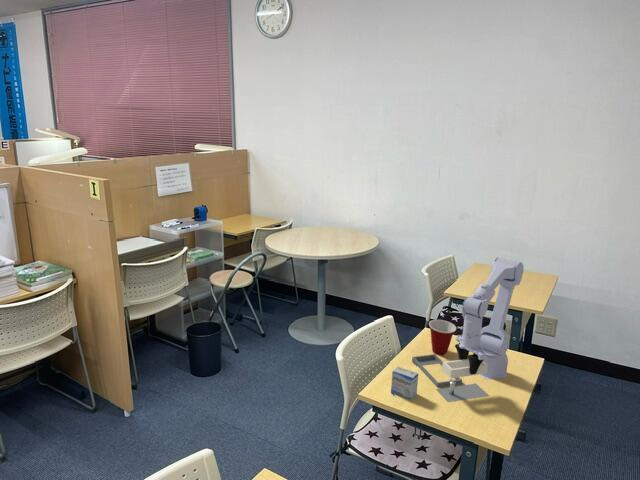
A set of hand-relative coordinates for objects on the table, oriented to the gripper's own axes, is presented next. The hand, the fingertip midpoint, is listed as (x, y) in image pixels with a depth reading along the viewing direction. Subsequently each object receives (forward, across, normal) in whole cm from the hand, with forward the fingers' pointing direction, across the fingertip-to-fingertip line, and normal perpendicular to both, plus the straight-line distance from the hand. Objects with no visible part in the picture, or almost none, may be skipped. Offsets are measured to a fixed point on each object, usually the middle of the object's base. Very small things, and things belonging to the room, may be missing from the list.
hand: (467, 369), depth 161 cm
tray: (+9, -15, -3) cm, 18 cm away
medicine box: (+10, -4, -21) cm, 24 cm away
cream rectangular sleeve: (+1, 0, -1) cm, 1 cm away
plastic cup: (+10, -30, +7) cm, 32 cm away
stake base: (+9, 0, -1) cm, 9 cm away
